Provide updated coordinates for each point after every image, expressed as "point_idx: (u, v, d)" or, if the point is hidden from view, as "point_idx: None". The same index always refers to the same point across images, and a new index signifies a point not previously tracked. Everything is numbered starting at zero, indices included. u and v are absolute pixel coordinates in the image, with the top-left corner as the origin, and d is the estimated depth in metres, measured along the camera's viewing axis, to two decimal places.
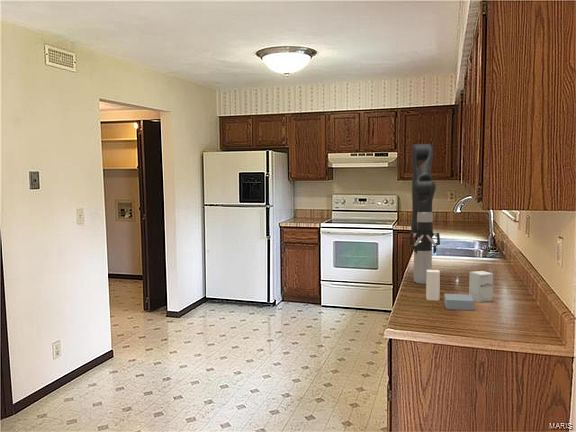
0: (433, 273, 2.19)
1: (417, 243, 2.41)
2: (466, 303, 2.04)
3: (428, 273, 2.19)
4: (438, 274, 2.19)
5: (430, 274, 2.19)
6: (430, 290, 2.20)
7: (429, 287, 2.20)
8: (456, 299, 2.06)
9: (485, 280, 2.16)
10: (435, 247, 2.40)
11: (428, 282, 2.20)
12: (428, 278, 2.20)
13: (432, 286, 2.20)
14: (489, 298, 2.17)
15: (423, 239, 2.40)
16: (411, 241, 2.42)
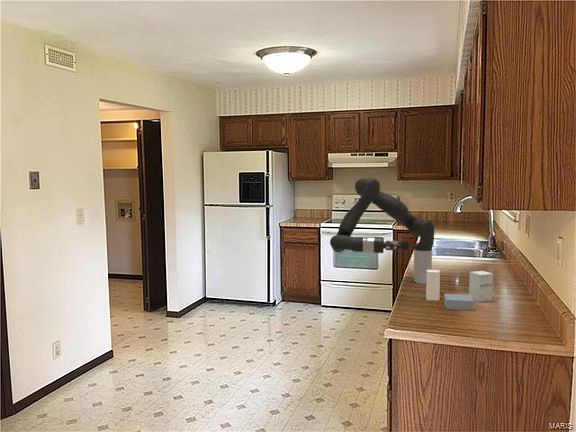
0: (433, 273, 2.19)
1: None
2: (466, 303, 2.04)
3: (428, 273, 2.19)
4: (438, 274, 2.19)
5: (430, 274, 2.19)
6: (430, 290, 2.20)
7: (429, 287, 2.20)
8: (456, 299, 2.06)
9: (485, 280, 2.16)
10: (402, 248, 2.19)
11: (428, 282, 2.20)
12: (428, 278, 2.20)
13: (432, 286, 2.20)
14: (489, 298, 2.17)
15: None
16: None
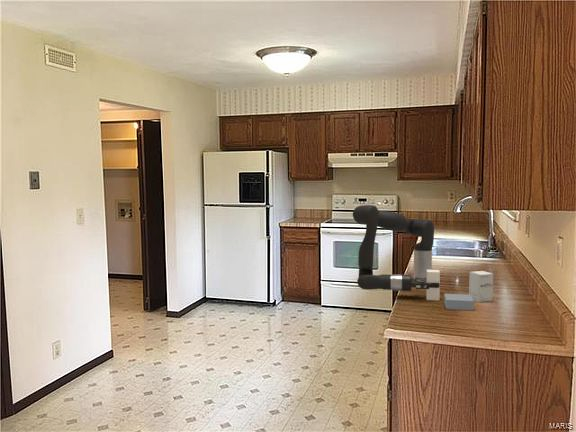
0: (433, 273, 2.19)
1: None
2: (466, 303, 2.04)
3: (428, 273, 2.19)
4: (438, 274, 2.19)
5: (430, 274, 2.19)
6: (430, 290, 2.20)
7: None
8: (456, 299, 2.06)
9: (485, 280, 2.16)
10: (432, 287, 2.19)
11: None
12: (428, 278, 2.20)
13: None
14: (489, 298, 2.17)
15: None
16: None
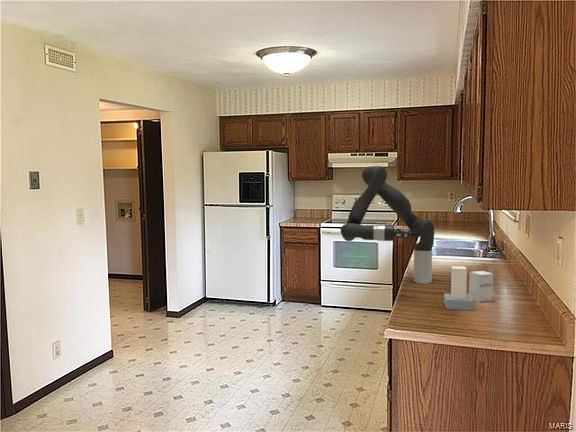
0: (459, 270, 2.06)
1: None
2: (466, 303, 2.04)
3: (454, 270, 2.06)
4: (465, 271, 2.05)
5: (456, 271, 2.06)
6: (456, 287, 2.07)
7: (455, 284, 2.07)
8: (456, 299, 2.06)
9: (485, 280, 2.16)
10: (412, 236, 2.19)
11: (454, 279, 2.07)
12: (454, 275, 2.06)
13: (459, 283, 2.06)
14: (489, 298, 2.17)
15: None
16: None
